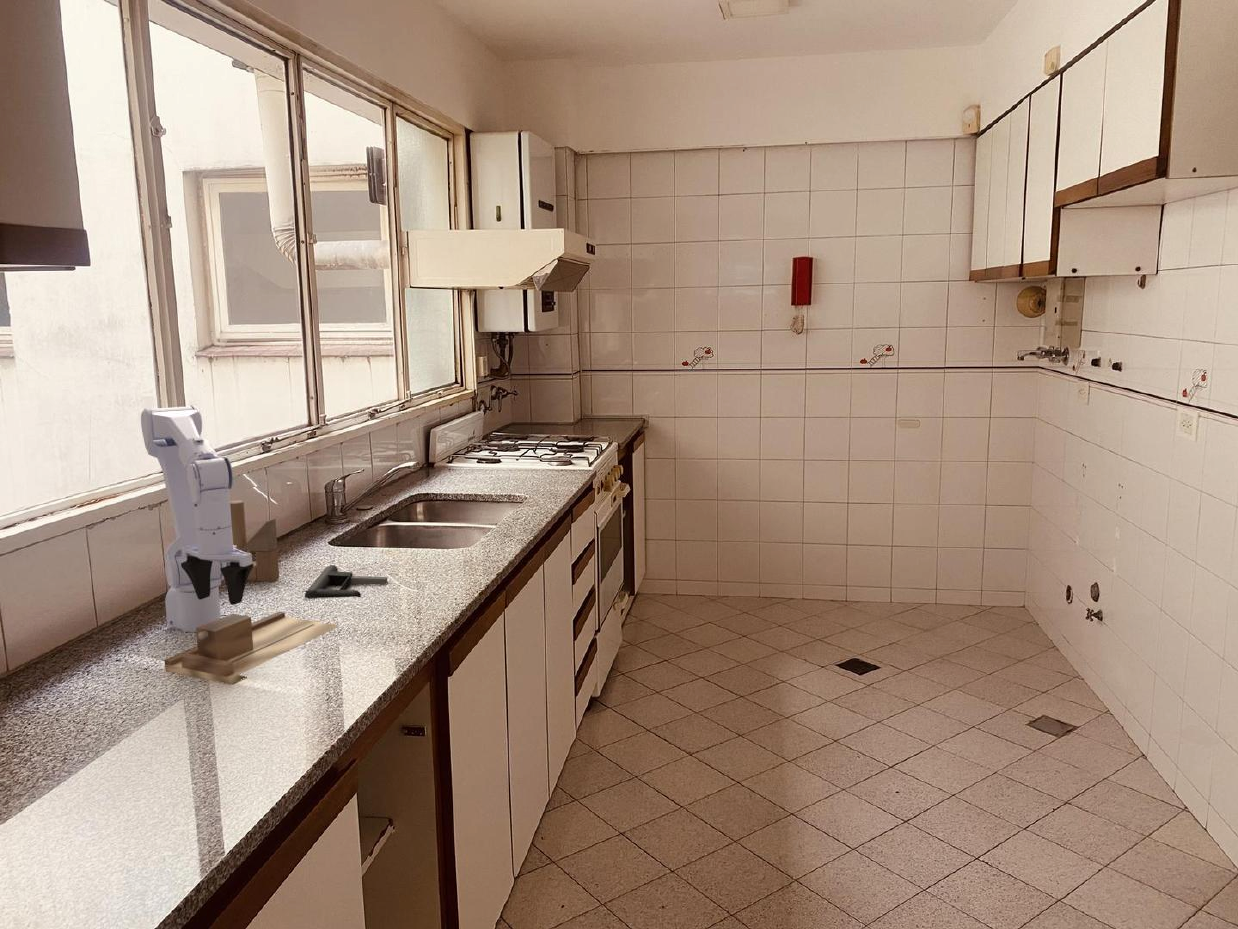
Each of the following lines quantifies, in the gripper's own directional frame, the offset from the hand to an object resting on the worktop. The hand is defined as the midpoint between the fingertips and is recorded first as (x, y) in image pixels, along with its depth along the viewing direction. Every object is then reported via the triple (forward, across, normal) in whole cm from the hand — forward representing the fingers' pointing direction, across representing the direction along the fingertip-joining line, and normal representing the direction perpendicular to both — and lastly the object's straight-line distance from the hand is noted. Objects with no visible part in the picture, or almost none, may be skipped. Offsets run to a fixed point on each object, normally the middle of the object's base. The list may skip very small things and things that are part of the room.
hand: (219, 600), depth 163 cm
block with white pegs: (+9, -4, +3) cm, 10 cm away
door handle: (+11, +5, -40) cm, 41 cm away
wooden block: (+10, +29, -37) cm, 48 cm away
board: (+10, -4, -4) cm, 11 cm away
